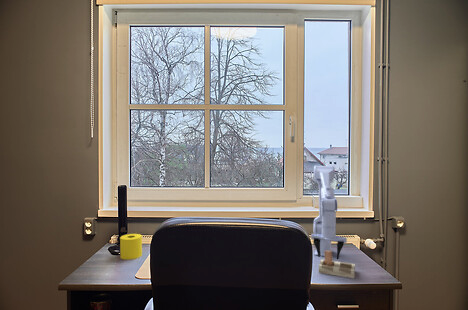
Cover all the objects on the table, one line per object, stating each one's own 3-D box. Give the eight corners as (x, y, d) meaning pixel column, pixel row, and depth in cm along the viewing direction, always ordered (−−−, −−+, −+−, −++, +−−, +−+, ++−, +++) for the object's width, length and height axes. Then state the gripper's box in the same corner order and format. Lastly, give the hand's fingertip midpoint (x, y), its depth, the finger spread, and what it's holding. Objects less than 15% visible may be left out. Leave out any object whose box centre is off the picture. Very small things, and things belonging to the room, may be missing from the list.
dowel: (325, 265, 131) (325, 250, 131) (332, 267, 130) (332, 251, 130) (323, 268, 128) (324, 252, 128) (331, 269, 127) (331, 253, 127)
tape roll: (125, 252, 152) (125, 233, 152) (144, 252, 151) (144, 233, 151) (116, 259, 142) (116, 239, 142) (137, 259, 141) (137, 239, 141)
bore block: (321, 265, 134) (321, 259, 134) (354, 270, 129) (354, 264, 129) (318, 272, 127) (318, 265, 127) (354, 278, 121) (354, 271, 121)
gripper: (310, 226, 128) (309, 258, 128) (346, 230, 122) (345, 263, 123) (312, 222, 134) (312, 252, 135) (347, 226, 129) (346, 257, 129)
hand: (328, 257), depth 129 cm, fingers open, 7 cm apart
